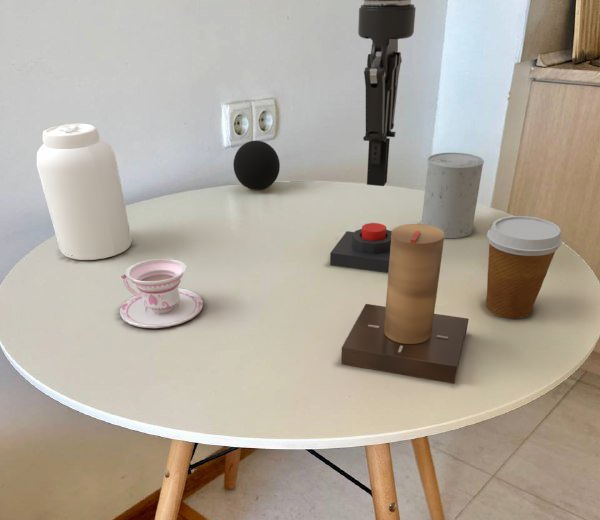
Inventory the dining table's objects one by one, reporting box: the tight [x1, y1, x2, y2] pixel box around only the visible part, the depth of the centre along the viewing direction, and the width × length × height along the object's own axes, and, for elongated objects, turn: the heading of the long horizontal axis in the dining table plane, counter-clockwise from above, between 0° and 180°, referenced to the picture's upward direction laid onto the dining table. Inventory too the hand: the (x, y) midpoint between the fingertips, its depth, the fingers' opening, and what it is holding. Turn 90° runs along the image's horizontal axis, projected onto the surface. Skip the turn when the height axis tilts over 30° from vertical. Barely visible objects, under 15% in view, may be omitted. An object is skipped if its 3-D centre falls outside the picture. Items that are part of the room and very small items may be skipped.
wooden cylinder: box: [384, 223, 445, 344], centre depth 71 cm, size 6×6×13 cm
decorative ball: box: [232, 140, 281, 191], centre depth 128 cm, size 10×10×10 cm
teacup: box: [119, 258, 204, 329], centre depth 85 cm, size 12×12×6 cm
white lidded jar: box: [36, 123, 133, 261], centre depth 100 cm, size 12×12×20 cm
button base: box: [329, 228, 392, 274], centre depth 99 cm, size 12×10×4 cm
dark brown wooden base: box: [340, 303, 470, 384], centre depth 76 cm, size 14×12×3 cm
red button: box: [361, 222, 387, 241], centre depth 97 cm, size 4×4×2 cm
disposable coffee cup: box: [485, 215, 563, 320], centre depth 81 cm, size 10×10×12 cm
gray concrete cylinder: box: [420, 152, 485, 239], centre depth 106 cm, size 10×10×12 cm
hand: (376, 183), depth 93 cm, fingers closed
